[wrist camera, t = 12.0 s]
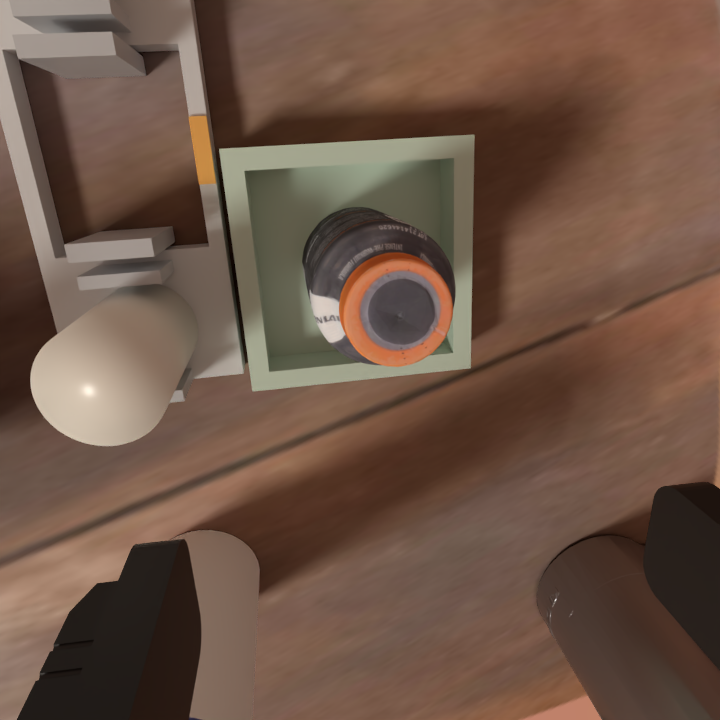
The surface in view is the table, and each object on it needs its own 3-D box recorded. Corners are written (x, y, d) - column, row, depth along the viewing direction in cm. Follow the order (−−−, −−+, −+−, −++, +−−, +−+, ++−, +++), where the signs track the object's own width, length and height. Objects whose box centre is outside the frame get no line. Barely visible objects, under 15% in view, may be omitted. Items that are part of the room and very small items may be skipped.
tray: (455, 137, 28) (474, 134, 26) (454, 350, 32) (470, 368, 30) (225, 150, 27) (218, 148, 24) (254, 371, 31) (252, 391, 28)
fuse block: (174, -136, 23) (108, -327, 14) (245, 364, 31) (231, 443, 22) (-51, -137, 22) (-274, -342, 13) (82, 380, 30) (-1, 470, 21)
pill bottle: (303, 316, 30) (315, 397, 19) (300, 205, 28) (311, 229, 17) (407, 313, 31) (474, 390, 20) (412, 206, 29) (488, 228, 18)
